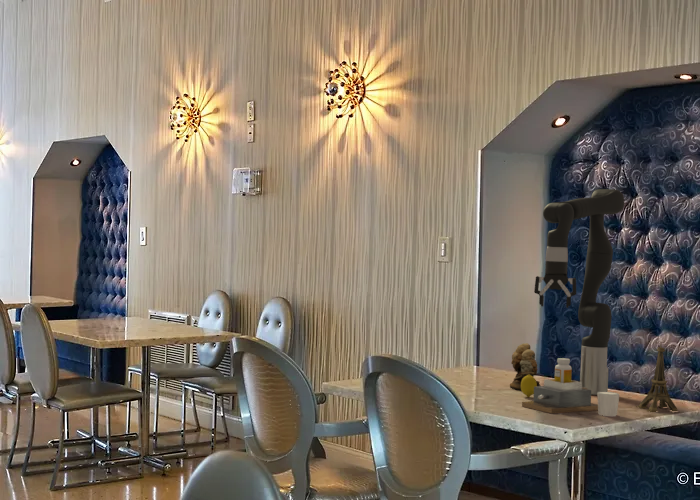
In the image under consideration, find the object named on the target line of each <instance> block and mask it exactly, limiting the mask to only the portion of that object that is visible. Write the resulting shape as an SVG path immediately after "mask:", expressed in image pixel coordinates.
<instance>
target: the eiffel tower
mask: <svg viewBox="0 0 700 500" xmlns="http://www.w3.org/2000/svg"><path fill="white" fill-rule="evenodd" d="M660 337H662V334H661V336H660ZM659 344H660V345H659V346H658V347H656V348H657V349H656V351H657V358H656V364H655V370H654V376H653V378H651V380H650V382H651V387H650V390H649V391H647V395H646V396H645V397H644V398H643V399H642V400H641V402H639V405H637V406H636V408H637V407H639V408H638V409H645V408H647V410H646V412H648V411H650V412H649V413H651V412H656V411H658V412H659V410H658V407H661V408H662V407H668V408H669V410H672V411H679V409H678V408H677V406H676V405H675V403H674V402H673V399H672V398H671V397H670V394H669V392H668V387H667V384H668V380H667V379H666V374H665V373H666V372H665V363H664V352H666V349H665V347H662V343H659ZM650 402H652V403H651V404H650ZM658 402H659V403H658ZM649 404H650V406H649V408H648V405H649ZM661 408H660V409H661Z"/></svg>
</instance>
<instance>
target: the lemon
mask: <svg viewBox="0 0 700 500" xmlns="http://www.w3.org/2000/svg"><path fill="white" fill-rule="evenodd" d="M536 381H537V379H536V378H535V377H534V376H531V375H527V376H525V377H524V378H523V379H522V381H521V391H520V392H522V394H523V395H524V396H526V397H527V398H530V397H531V396H532V395H533V396H534V387H537V383H536Z"/></svg>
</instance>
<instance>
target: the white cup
mask: <svg viewBox="0 0 700 500" xmlns="http://www.w3.org/2000/svg"><path fill="white" fill-rule="evenodd" d="M596 396H597V404H598V410H597V411H598V413H597V414H598V416H602V415H603V417H617V416H618V415H617V414H618V407H619V400H620V393H618V392H614V391H613V392H612V391H608V392H597V395H596ZM616 415H617V416H616Z"/></svg>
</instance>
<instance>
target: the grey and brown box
mask: <svg viewBox="0 0 700 500" xmlns="http://www.w3.org/2000/svg"><path fill="white" fill-rule="evenodd" d="M521 407H524V408H527V409H531V410H536V411H539V412H543V413H547V414H551V415H552V414H563V413H579V412H590V411H591V412H592V411H598V403H592V394H591V390H588V389H587V388H585V387H583V388H582V382H580V381H578V380H572V379H571V382H567V383H561V382H556V381H555V378H550V379H549V378H544V379H543V385H541V386H537V387H534V394H533V400H532V401H531V400H530V401H521Z"/></svg>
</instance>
